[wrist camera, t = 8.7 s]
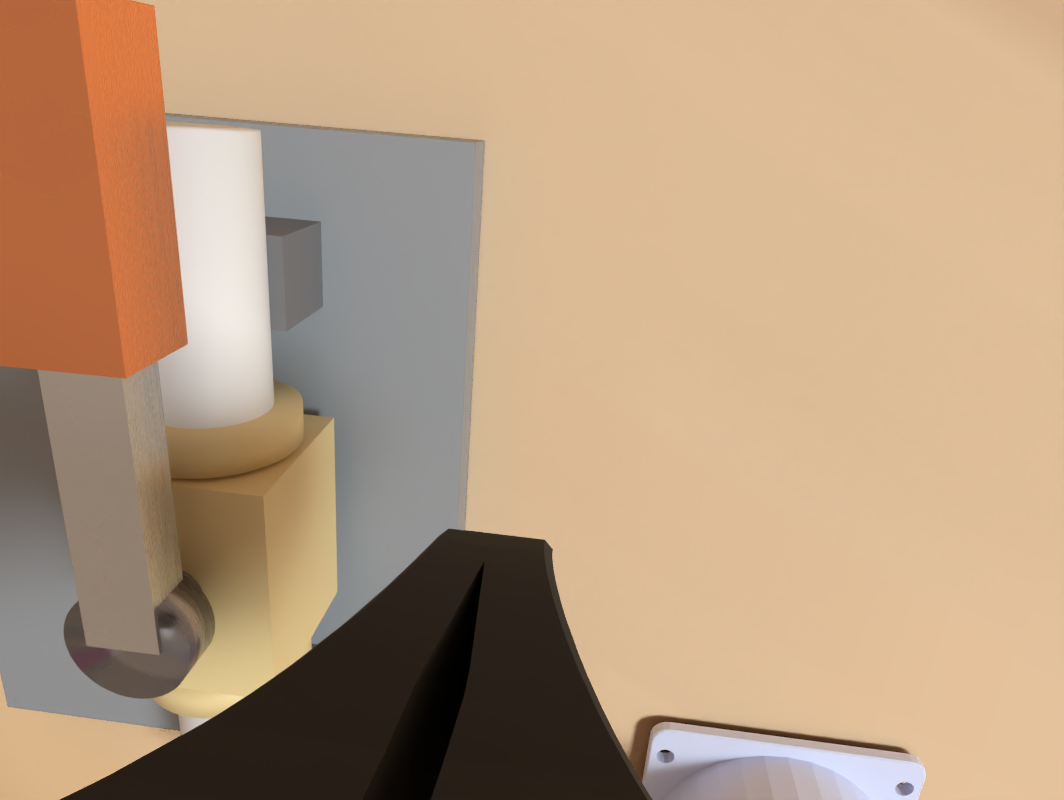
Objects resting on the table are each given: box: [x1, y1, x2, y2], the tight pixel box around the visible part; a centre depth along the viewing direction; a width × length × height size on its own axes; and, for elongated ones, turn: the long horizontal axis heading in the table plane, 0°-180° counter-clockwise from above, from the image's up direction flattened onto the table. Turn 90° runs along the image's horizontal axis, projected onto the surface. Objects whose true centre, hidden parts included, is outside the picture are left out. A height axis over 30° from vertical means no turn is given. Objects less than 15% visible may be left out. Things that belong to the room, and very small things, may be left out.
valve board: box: [0, 113, 485, 735], centre depth 18 cm, size 18×14×6 cm
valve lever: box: [0, 0, 215, 699], centre depth 13 cm, size 12×2×2 cm, turn 176°
